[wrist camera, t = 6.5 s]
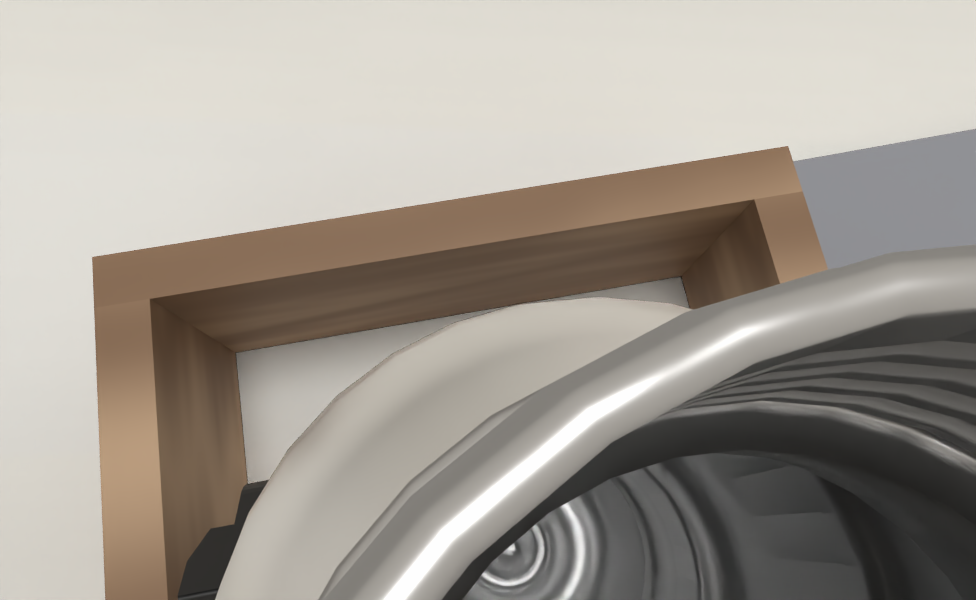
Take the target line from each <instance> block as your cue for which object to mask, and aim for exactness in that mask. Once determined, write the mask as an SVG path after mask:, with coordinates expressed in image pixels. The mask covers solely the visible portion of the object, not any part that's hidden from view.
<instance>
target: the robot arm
mask: <svg viewBox="0 0 976 600" xmlns="http://www.w3.org/2000/svg"><path fill="white" fill-rule="evenodd" d="M268 481H269V480H266V481H261V482H255V483H250V484H246V485H245V486H244V487H243V489H242V491H241V495H240V500H239V504H238V509H237V514H236V518H235V523H234V524H232V525H227V526H222V527H216V528H211V529H210V530H209V531H208V533H207V534H206V535H205V537H204V538H203V540H202V541H201V542H200V544H199V545H198V547H197V548H196V549H195V551H194V552H193V554H192V555H191V556H190V558H189V559H188V561H187V563H186V567H185V570H184V574H183V578H182V581H181V585H180V588H179V592H178V596H177V597H178V600H215V599H216V596H217V593H218V590H219V587H220V584H221V582H222V579H223V577H224V574H225V572H226V569H227V567H228V564H229V562H230V559H231V556H232V554H233V551H234V549H235V546H236V544H237V541H238V539H239V536H240V534H241V531H242V528H243V526H244V523H245V521H246V518H247V516H248V513H249V511H250V510H251V508H252V507H253V505H254V503H255V502H256V500H257V499H258V497H259V495H260V494H261V492H262V490H263V489H264V487H265V486H266V484H267V482H268Z"/></svg>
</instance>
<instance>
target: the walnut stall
mask: <svg viewBox="0 0 976 600" xmlns="http://www.w3.org/2000/svg"><path fill="white" fill-rule="evenodd" d="M92 262H93V288H94V314H95V340H96V366H97V392H98V418H99V444H100V470H101V496H102V522H103V548H104V574H105V600H178V597H177V596H178V592H179V588H180V585H181V581H182V578H183V574H184V570H185V567H186V563H187V561H188V559H189V558H190V556H191V555H192V554H193V552H194V551H195V549H196V548H197V547H198V545H199V544H200V542H201V541H202V540H203V538H204V537H205V535H206V534H207V533H208V531H209V530H210V529H211V528H216V527H222V526H227V525H232V524H234V523H235V518H236V514H237V509H238V504H239V500H240V495H241V491H242V489H243V487H244V486H245V485H246V484H248V483H247V472H246V462H245V451H244V440H243V429H242V418H241V407H240V396H239V385H238V374H237V363H236V352H242V351H247V350H253V349H259V348H265V347H271V346H277V345H282V344H288V343H294V342H300V341H306V340H312V339H317V338H323V337H329V336H335V335H341V334H347V333H352V332H358V331H364V330H370V329H376V328H382V327H387V326H393V325H399V324H405V323H411V322H417V321H422V320H428V319H434V318H440V317H446V316H452V315H457V314H463V313H469V312H475V311H481V310H487V309H492V308H498V307H504V306H510V305H516V304H522V303H527V302H533V301H539V300H545V299H551V298H557V297H562V296H568V295H574V294H580V293H586V292H592V291H597V290H603V289H609V288H615V287H621V286H627V285H632V284H638V283H644V282H650V281H656V280H662V279H667V278H673V277H679V276H681V277H682V280H683V284H684V288H685V292H686V295H687V299H688V303H689V307H690V309H693V310H694V309H698V308H701V307H704V306H708V305H711V304H714V303H718V302H721V301H724V300H728V299H731V298H734V297H738V296H741V295H744V294H748V293H751V292H754V291H758V290H761V289H764V288H768V287H771V286H774V285H778V284H781V283H784V282H788V281H791V280H794V279H798V278H801V277H805V276H808V275H811V274H815V273H818V272H821V271H825V270H828V267H827V264H826V261H825V258H824V255H823V252H822V249H821V246H820V243H819V240H818V237H817V234H816V231H815V228H814V224H813V221H812V218H811V215H810V212H809V209H808V206H807V203H806V200H805V197H804V194H803V191H802V188H801V185H800V181H799V178H798V175H797V172H796V169H795V166H794V163H793V160H792V157H791V154H790V151H789V148H788V146H786V147H780V148H773V149H767V150H761V151H754V152H748V153H742V154H736V155H729V156H723V157H717V158H711V159H704V160H698V161H692V162H686V163H679V164H673V165H667V166H660V167H654V168H648V169H642V170H635V171H629V172H623V173H617V174H610V175H604V176H598V177H592V178H585V179H579V180H573V181H566V182H560V183H554V184H548V185H541V186H535V187H529V188H523V189H516V190H510V191H504V192H498V193H491V194H485V195H479V196H472V197H466V198H460V199H454V200H447V201H441V202H435V203H429V204H422V205H416V206H410V207H404V208H397V209H391V210H385V211H378V212H372V213H366V214H360V215H353V216H347V217H341V218H335V219H328V220H322V221H316V222H309V223H303V224H297V225H291V226H284V227H278V228H272V229H266V230H259V231H253V232H247V233H241V234H234V235H228V236H222V237H215V238H209V239H203V240H197V241H190V242H184V243H178V244H172V245H165V246H159V247H153V248H147V249H140V250H134V251H128V252H121V253H115V254H109V255H103V256H96V257H92Z"/></svg>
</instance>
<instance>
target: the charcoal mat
mask: <svg viewBox="0 0 976 600" xmlns="http://www.w3.org/2000/svg"><path fill="white" fill-rule="evenodd" d="M793 163H794V166H795V169H796V172H797V175H798V178H799V181H800V185H801V188H802V191H803V194H804V197H805V200H806V203H807V206H808V209H809V212H810V215H811V218H812V221H813V224H814V228H815V231H816V234H817V237H818V240H819V243H820V246H821V249H822V252H823V255H824V258H825V261H826V264H827V267H828V269H831V268H840V267H843V266H847V265H850V264H853V263H857V262H860V261H863V260H867V259H870V258H873V257H877V256H880V255H883V254H887V253H892V252H902V251H913V250H923V249H933V248H944V247H954V246H964V245H975V244H976V129H973V130H967V131H962V132H956V133H951V134H945V135H939V136H934V137H928V138H923V139H917V140H911V141H906V142H900V143H895V144H889V145H883V146H878V147H872V148H867V149H861V150H855V151H850V152H844V153H839V154H833V155H827V156H822V157H816V158H811V159H805V160H799V161H794V162H793Z"/></svg>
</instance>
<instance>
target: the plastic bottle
mask: <svg viewBox="0 0 976 600" xmlns="http://www.w3.org/2000/svg"><path fill="white" fill-rule="evenodd" d="M215 600H976V244H975V245H964V246H954V247H944V248H933V249H923V250H913V251H902V252H892V253H887V254H883V255H880V256H877V257H873V258H870V259H867V260H863V261H860V262H857V263H853V264H850V265H847V266H843V267H840V268H831V269H828V270H825V271H821V272H818V273H815V274H811V275H808V276H805V277H801V278H798V279H794V280H791V281H788V282H784V283H781V284H778V285H774V286H771V287H768V288H764V289H761V290H758V291H754V292H751V293H748V294H744V295H741V296H738V297H734V298H731V299H728V300H724V301H721V302H718V303H714V304H711V305H708V306H704V307H701V308H698V309H694V310H693V309H689V308H686V307H682V306H678V305H675V304H671V303H662V302H650V301H639V300H627V299H616V298H604V297H594V298H580V299H570V300H559V301H549V302H539V303H528V304H518V305H514V306H511V307H507V308H504V309H500V310H497V311H493V312H490V313H486V314H483V315H479V316H476V317H473V318H469V319H466V320H462V321H459V322H455V323H452V324H450V325H448V326H446V327H444V328H442V329H440V330H438V331H436V332H434V333H432V334H430V335H428V336H426V337H424V338H422V339H420V340H418V341H416V342H414V343H412V344H411V345H409V346H407V347H405V348H403V349H401V350H399V351H397V352H395V353H393V354H391V355H390V356H389V357H387V358H386V359H385V360H383V361H382V362H381V363H379V364H378V365H377V366H375V367H374V368H373V369H371V370H370V371H369V372H367V373H366V374H365V375H364V376H362V377H361V378H360V379H358V380H357V381H356V382H354V383H353V384H352V385H350V386H349V387H348V388H346V389H345V390H344V391H342V392H341V393H340V394H338V395H337V396H336V397H335V398H334V399H333V401H332V402H331V403H330V404H329V405H328V406H327V407H326V408H325V409H324V410H323V411H322V413H321V414H320V415H319V416H318V417H317V418H316V419H315V420H314V421H313V422H312V424H311V425H310V426H309V427H308V428H307V429H306V430H305V431H304V432H303V433H302V435H301V436H300V437H299V438H298V439H297V440H296V441H295V442H294V443H293V444H292V446H291V447H290V448H289V449H288V450H287V452H286V454H285V455H284V457H283V458H282V460H281V462H280V463H279V465H278V466H277V468H276V470H275V471H274V473H273V474H272V476H271V478H270V479H269V481H268V482H267V484H266V486H265V487H264V489H263V490H262V492H261V494H260V495H259V497H258V499H257V500H256V502H255V503H254V505H253V507H252V508H251V510H250V511H249V513H248V516H247V518H246V521H245V523H244V526H243V528H242V531H241V534H240V536H239V539H238V541H237V544H236V546H235V549H234V551H233V554H232V556H231V559H230V562H229V564H228V567H227V569H226V572H225V574H224V577H223V579H222V582H221V584H220V587H219V590H218V593H217V596H216V599H215Z"/></svg>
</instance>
